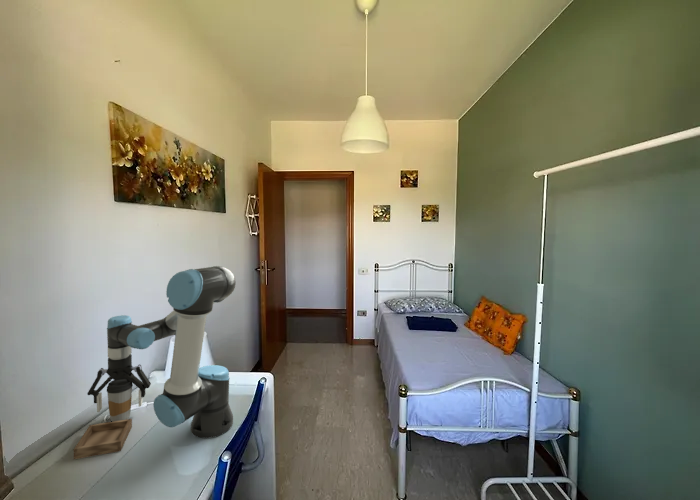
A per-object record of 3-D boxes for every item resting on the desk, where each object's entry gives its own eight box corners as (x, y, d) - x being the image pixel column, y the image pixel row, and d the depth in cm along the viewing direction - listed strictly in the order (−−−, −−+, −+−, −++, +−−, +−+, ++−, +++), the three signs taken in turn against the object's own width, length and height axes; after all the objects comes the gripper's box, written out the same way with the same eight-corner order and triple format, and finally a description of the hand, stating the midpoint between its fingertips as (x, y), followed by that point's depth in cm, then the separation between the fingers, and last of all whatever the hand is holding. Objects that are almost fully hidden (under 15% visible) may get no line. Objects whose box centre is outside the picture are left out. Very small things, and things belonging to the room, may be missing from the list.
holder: (131, 427, 120) (131, 418, 120) (121, 450, 108) (120, 441, 108) (90, 434, 115) (89, 425, 115) (73, 459, 103) (73, 449, 103)
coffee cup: (138, 414, 128) (137, 379, 127) (118, 427, 120) (118, 389, 119) (122, 410, 130) (121, 375, 129) (101, 422, 122) (100, 385, 121)
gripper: (158, 348, 131) (158, 397, 133) (84, 354, 122) (85, 407, 124) (154, 356, 124) (154, 407, 126) (75, 363, 115) (77, 418, 117)
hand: (120, 407), depth 125 cm, fingers open, 13 cm apart
